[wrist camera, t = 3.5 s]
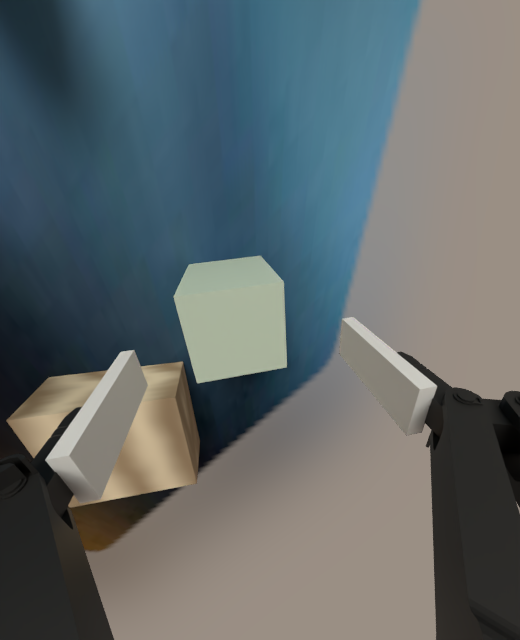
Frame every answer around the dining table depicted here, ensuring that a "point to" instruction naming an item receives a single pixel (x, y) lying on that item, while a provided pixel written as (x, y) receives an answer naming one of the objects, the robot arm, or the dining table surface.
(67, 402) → the maple block
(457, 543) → the robot arm
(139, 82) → the dining table surface
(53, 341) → the dining table surface
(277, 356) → the sage block
